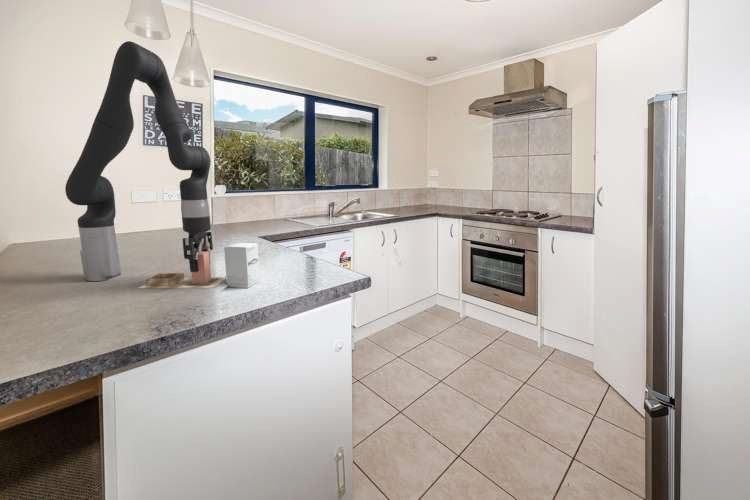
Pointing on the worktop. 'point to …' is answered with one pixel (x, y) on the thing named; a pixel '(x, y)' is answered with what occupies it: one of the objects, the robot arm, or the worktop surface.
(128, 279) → the worktop surface
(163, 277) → the board
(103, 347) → the worktop surface
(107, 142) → the robot arm
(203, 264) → the block
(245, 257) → the supplement box
